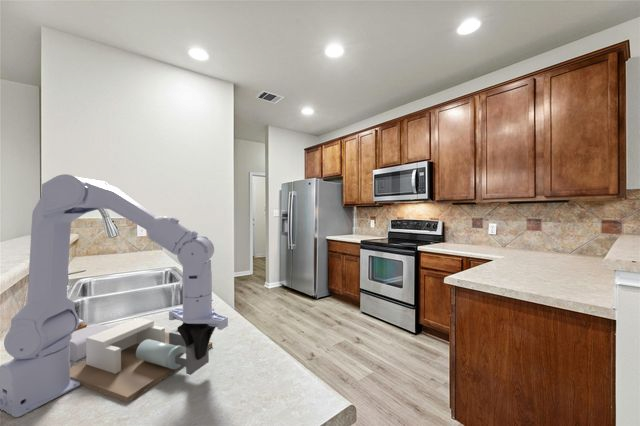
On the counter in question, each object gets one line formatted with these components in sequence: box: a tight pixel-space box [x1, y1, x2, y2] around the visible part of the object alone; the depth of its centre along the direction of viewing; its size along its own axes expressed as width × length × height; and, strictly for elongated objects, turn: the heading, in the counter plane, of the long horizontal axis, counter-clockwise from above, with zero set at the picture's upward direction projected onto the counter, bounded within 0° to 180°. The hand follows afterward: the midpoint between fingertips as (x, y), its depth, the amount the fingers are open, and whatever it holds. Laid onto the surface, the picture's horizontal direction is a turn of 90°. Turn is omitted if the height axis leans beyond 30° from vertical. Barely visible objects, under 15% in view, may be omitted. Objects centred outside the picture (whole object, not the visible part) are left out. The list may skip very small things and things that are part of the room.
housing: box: [85, 317, 186, 374], centre depth 66 cm, size 17×16×6 cm
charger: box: [70, 323, 121, 362], centre depth 72 cm, size 5×9×15 cm
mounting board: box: [70, 331, 213, 403], centre depth 64 cm, size 22×22×1 cm
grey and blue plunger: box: [136, 339, 210, 376], centre depth 60 cm, size 5×17×7 cm, turn 69°
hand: (197, 356), depth 57 cm, fingers closed on grey and blue plunger
